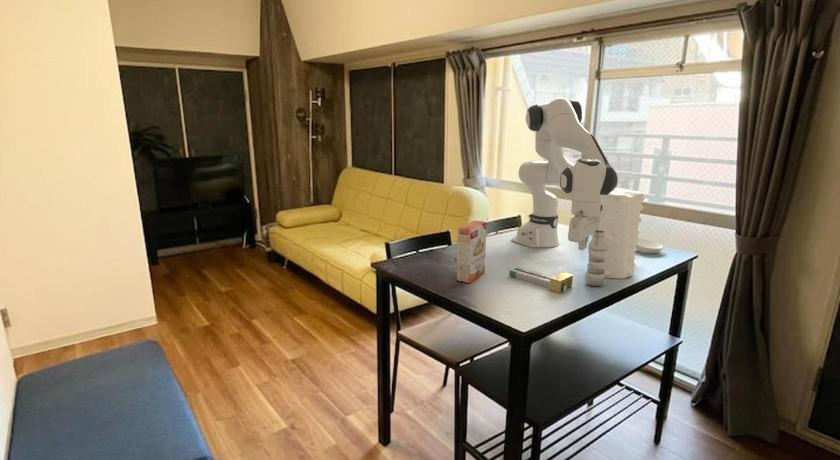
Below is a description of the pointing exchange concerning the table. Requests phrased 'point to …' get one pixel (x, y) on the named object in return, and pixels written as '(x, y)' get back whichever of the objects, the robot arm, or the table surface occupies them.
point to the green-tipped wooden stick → (534, 279)
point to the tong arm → (533, 273)
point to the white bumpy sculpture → (620, 230)
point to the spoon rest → (647, 246)
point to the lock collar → (560, 281)
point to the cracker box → (471, 251)
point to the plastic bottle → (596, 259)
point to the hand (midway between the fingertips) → (582, 249)
